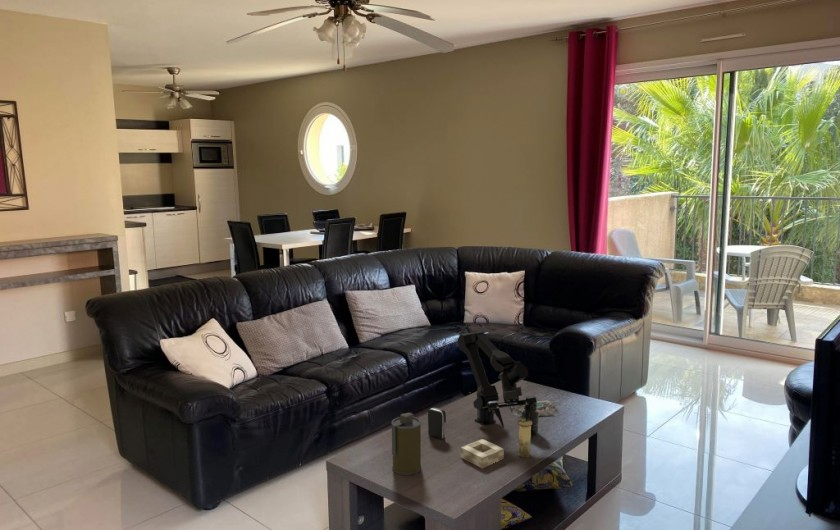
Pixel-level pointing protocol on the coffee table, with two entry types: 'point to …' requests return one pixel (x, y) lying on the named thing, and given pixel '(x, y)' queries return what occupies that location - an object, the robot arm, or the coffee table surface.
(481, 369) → the robot arm
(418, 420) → the canister
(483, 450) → the bore block
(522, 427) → the brass capped cylinder
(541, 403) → the terrain model
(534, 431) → the supplement bottle
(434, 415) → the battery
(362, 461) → the coffee table surface
